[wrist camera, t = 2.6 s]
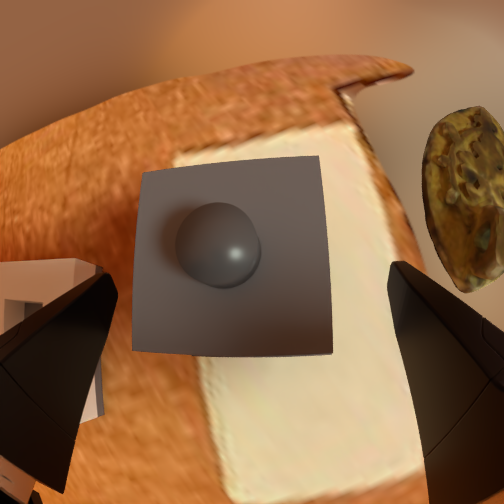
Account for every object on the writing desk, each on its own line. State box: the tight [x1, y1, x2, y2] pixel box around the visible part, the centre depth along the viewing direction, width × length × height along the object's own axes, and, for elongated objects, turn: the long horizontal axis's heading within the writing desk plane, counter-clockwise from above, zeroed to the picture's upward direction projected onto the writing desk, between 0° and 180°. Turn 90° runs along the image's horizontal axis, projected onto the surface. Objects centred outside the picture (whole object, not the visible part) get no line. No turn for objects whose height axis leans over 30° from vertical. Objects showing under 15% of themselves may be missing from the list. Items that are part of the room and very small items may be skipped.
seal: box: [422, 106, 504, 293], centre depth 15 cm, size 9×5×15 cm
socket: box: [0, 258, 104, 424], centre depth 17 cm, size 10×10×3 cm
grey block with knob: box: [132, 156, 333, 357], centre depth 12 cm, size 7×7×11 cm
